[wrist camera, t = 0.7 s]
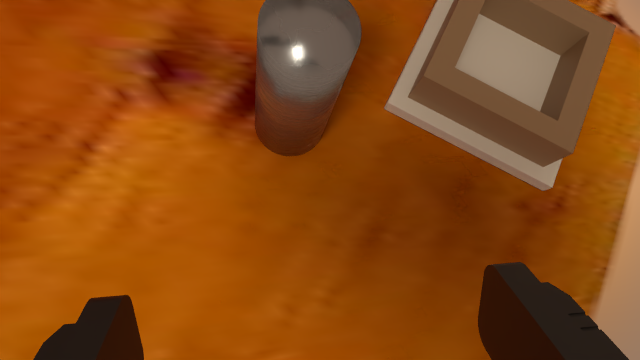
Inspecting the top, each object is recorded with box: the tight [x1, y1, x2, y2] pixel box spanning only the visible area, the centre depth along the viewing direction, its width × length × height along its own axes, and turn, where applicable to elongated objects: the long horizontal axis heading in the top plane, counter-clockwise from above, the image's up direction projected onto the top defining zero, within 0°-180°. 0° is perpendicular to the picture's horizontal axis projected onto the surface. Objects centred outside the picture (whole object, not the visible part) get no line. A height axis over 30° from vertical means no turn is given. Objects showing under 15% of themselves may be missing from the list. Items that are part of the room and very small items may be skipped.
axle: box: [255, 0, 361, 156], centre depth 25 cm, size 4×4×11 cm
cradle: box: [384, 0, 616, 191], centre depth 32 cm, size 12×12×4 cm
